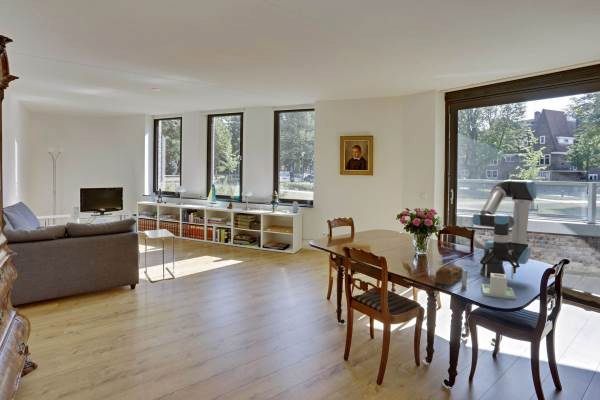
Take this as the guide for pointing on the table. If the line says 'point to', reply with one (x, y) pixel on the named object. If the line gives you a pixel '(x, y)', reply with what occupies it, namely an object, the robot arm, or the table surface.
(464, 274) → the grey metal cylinder
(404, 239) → the table surface
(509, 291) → the tray
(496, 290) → the hollow block
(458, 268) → the bread
